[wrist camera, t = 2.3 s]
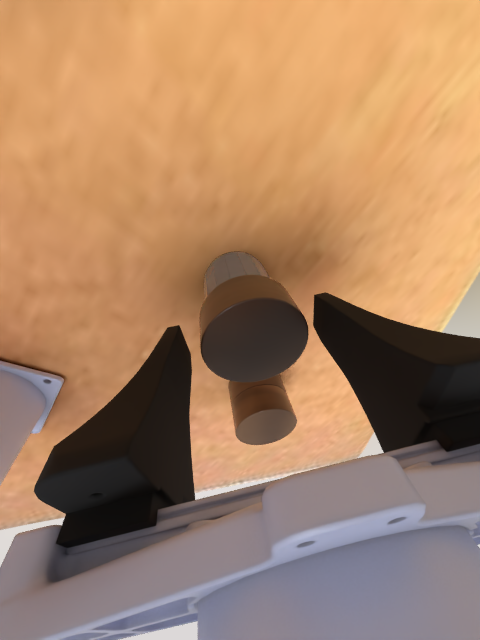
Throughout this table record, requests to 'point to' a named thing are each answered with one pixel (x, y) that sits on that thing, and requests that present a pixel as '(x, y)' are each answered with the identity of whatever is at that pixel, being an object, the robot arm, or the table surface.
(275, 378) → the oak chip bottom
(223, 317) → the walnut chip
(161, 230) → the table surface
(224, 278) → the plastic cup
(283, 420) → the disc
